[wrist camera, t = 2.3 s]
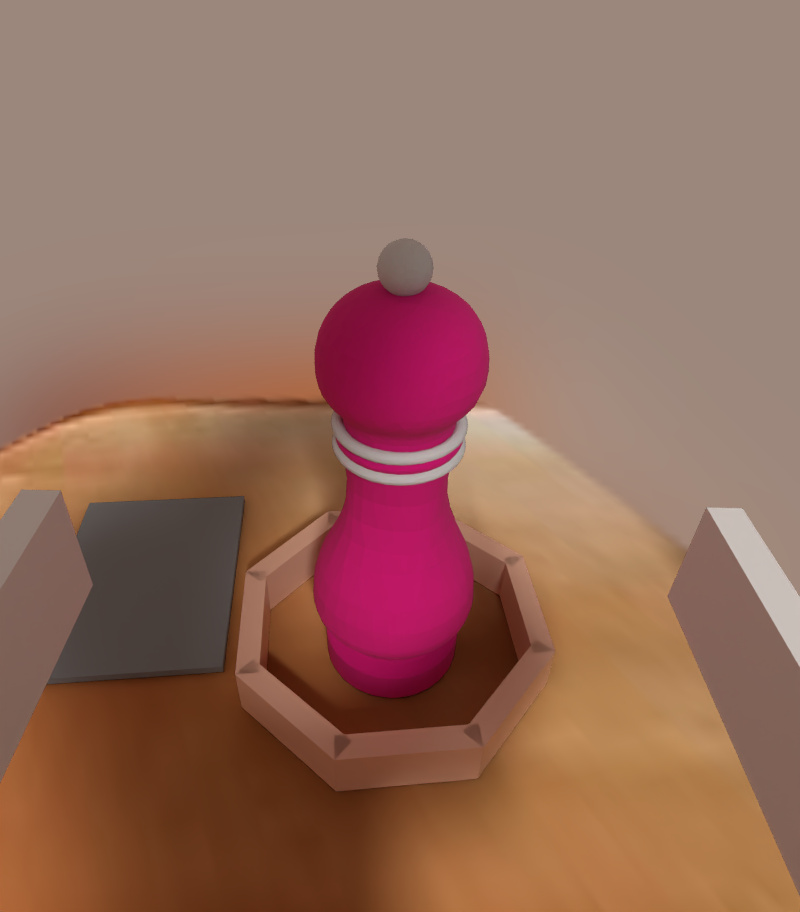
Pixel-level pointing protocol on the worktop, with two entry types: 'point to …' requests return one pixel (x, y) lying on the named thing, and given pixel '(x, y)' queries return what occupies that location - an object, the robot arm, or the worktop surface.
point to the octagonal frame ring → (393, 751)
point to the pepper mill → (397, 473)
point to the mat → (154, 589)
